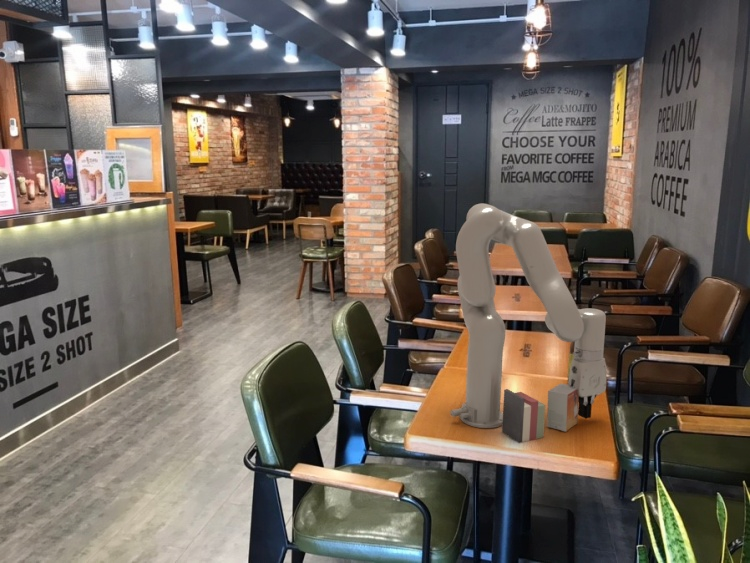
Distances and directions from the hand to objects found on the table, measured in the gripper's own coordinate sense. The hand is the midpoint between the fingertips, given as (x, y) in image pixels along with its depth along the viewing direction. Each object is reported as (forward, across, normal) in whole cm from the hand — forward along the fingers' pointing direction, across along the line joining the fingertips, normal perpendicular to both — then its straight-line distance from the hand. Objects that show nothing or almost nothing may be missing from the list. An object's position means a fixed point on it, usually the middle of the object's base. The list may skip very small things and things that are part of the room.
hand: (584, 416), depth 163 cm
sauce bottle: (+2, +20, +23) cm, 30 cm away
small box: (+1, -8, 0) cm, 8 cm away
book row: (+1, -22, 0) cm, 22 cm away
